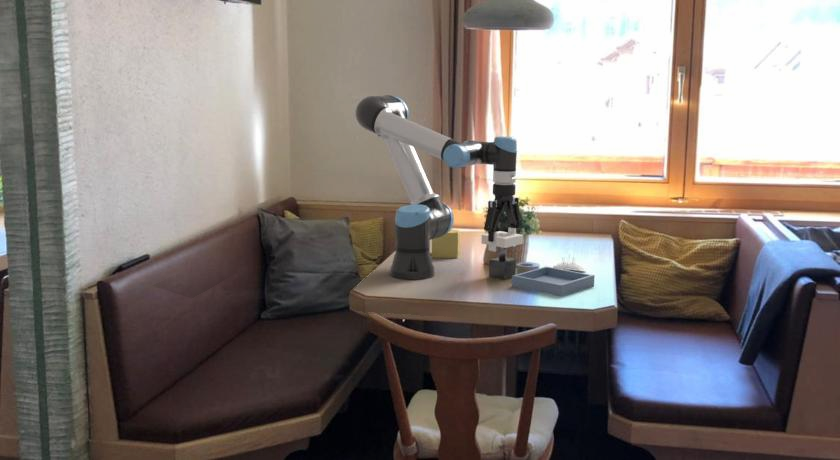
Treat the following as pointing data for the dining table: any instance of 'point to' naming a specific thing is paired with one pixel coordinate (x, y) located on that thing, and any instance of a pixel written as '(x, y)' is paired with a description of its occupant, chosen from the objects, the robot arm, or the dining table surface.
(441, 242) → the cheese
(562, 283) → the tray
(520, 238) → the ring
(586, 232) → the dining table surface
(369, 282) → the dining table surface
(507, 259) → the grey block with post
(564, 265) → the pincushion
